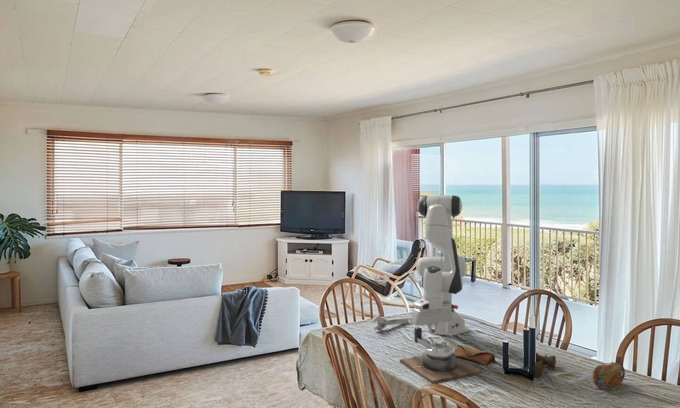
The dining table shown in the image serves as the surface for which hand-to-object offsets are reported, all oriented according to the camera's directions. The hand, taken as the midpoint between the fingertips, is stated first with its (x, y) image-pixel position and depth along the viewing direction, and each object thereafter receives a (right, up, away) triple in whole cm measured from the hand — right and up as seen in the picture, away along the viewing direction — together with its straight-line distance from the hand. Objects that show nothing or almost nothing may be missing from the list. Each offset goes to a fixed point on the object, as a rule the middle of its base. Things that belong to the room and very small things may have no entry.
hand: (432, 332), depth 217 cm
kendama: (+42, -11, -19) cm, 47 cm away
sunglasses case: (+16, -10, -7) cm, 20 cm away
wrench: (-14, -8, +38) cm, 41 cm away
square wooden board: (0, -10, -17) cm, 20 cm away
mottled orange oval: (+61, -11, -34) cm, 71 cm away
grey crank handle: (-3, -5, -12) cm, 13 cm away
